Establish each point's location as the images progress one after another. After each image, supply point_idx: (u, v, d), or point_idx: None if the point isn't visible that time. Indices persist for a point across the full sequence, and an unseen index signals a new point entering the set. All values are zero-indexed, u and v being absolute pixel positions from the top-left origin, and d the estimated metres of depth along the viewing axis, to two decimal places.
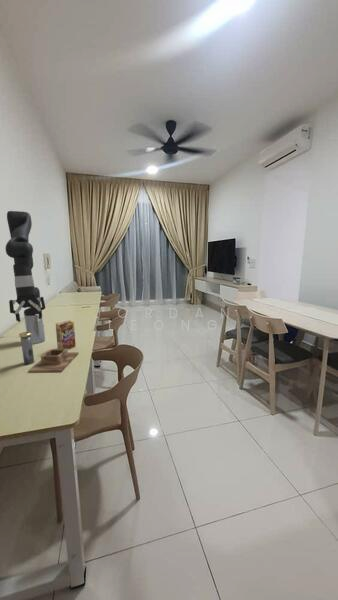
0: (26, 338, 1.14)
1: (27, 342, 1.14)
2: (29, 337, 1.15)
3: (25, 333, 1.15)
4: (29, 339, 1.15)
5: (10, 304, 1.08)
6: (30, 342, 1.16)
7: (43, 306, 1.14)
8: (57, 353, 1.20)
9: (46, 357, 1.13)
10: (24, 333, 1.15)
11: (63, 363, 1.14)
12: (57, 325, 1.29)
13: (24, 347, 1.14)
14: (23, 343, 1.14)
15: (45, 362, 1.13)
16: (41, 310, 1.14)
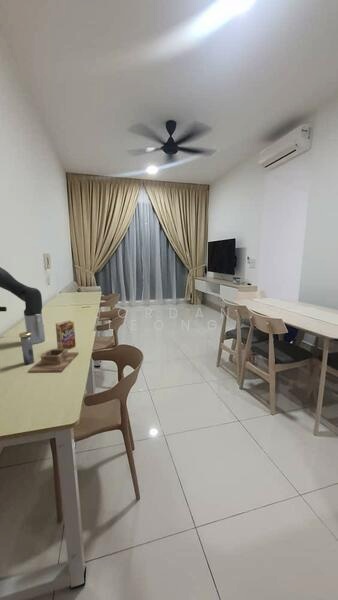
0: (26, 338, 1.14)
1: (27, 342, 1.14)
2: (29, 337, 1.15)
3: (25, 333, 1.15)
4: (29, 339, 1.15)
5: None
6: (30, 342, 1.16)
7: None
8: (57, 353, 1.20)
9: (46, 357, 1.13)
10: (24, 333, 1.15)
11: (63, 363, 1.14)
12: (57, 325, 1.29)
13: (24, 347, 1.14)
14: (23, 343, 1.14)
15: (45, 362, 1.13)
16: None
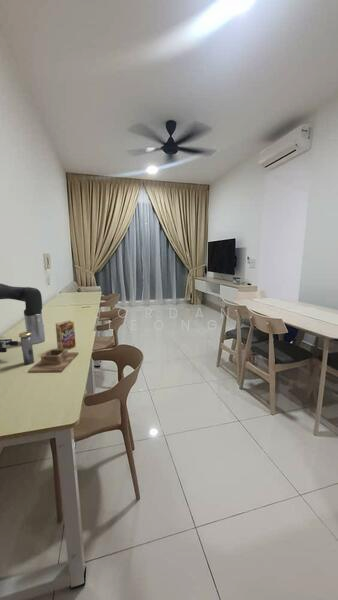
0: (26, 338, 1.14)
1: (27, 342, 1.14)
2: (29, 337, 1.15)
3: (25, 333, 1.15)
4: (29, 339, 1.15)
5: None
6: (30, 342, 1.16)
7: None
8: (57, 353, 1.20)
9: (46, 357, 1.13)
10: (24, 333, 1.15)
11: (63, 363, 1.14)
12: (57, 325, 1.29)
13: (24, 347, 1.14)
14: (23, 343, 1.14)
15: (45, 362, 1.13)
16: None
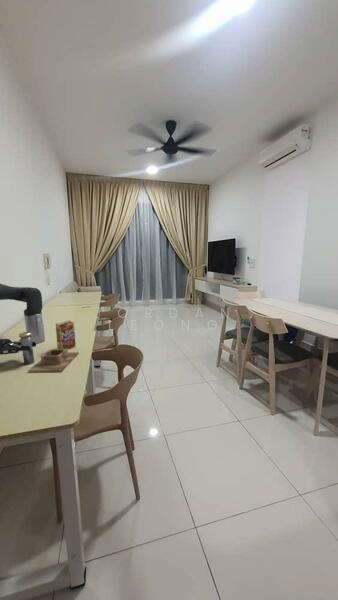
0: (26, 338, 1.14)
1: (27, 342, 1.14)
2: (29, 337, 1.15)
3: (25, 333, 1.15)
4: (29, 339, 1.15)
5: None
6: (30, 342, 1.16)
7: None
8: (57, 353, 1.20)
9: (46, 357, 1.13)
10: (24, 333, 1.15)
11: (63, 363, 1.14)
12: (57, 325, 1.29)
13: None
14: (23, 343, 1.14)
15: (45, 362, 1.13)
16: (20, 350, 1.13)
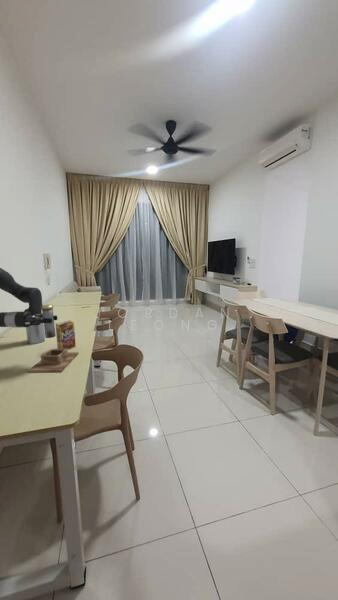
0: (48, 310, 1.11)
1: (49, 314, 1.11)
2: (51, 309, 1.12)
3: (47, 305, 1.12)
4: (51, 311, 1.12)
5: None
6: (52, 315, 1.13)
7: None
8: (57, 353, 1.20)
9: (46, 357, 1.13)
10: (46, 305, 1.12)
11: (63, 363, 1.14)
12: (57, 325, 1.29)
13: None
14: (45, 315, 1.11)
15: (45, 362, 1.13)
16: (42, 322, 1.10)
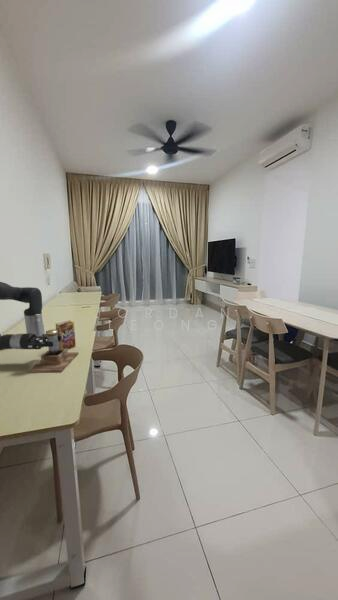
0: (53, 336, 1.13)
1: (54, 340, 1.14)
2: (55, 335, 1.15)
3: (51, 331, 1.15)
4: (55, 337, 1.15)
5: None
6: (56, 340, 1.15)
7: None
8: None
9: (46, 357, 1.13)
10: (50, 331, 1.15)
11: (63, 363, 1.14)
12: (57, 325, 1.29)
13: None
14: (50, 341, 1.13)
15: (45, 362, 1.13)
16: (43, 346, 1.11)
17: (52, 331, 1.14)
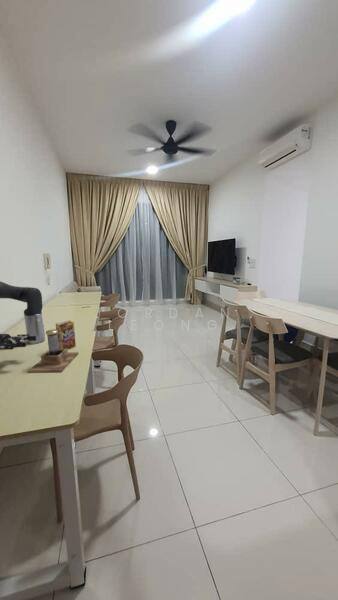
0: (53, 336, 1.14)
1: (54, 340, 1.14)
2: (56, 335, 1.15)
3: (52, 331, 1.15)
4: (56, 337, 1.15)
5: None
6: (56, 340, 1.15)
7: None
8: None
9: (46, 357, 1.13)
10: (51, 331, 1.15)
11: (63, 363, 1.14)
12: (57, 325, 1.29)
13: (51, 344, 1.14)
14: (50, 341, 1.14)
15: (45, 362, 1.13)
16: (15, 347, 1.11)
17: (52, 331, 1.14)
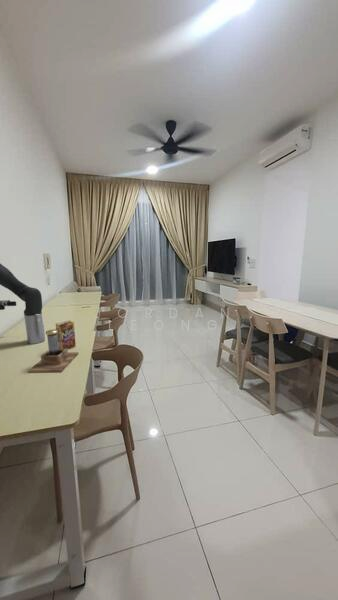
0: (53, 336, 1.14)
1: (54, 340, 1.14)
2: (56, 335, 1.15)
3: (52, 331, 1.15)
4: (56, 337, 1.15)
5: (2, 305, 1.24)
6: (56, 340, 1.15)
7: None
8: None
9: (46, 357, 1.13)
10: (51, 331, 1.15)
11: (63, 363, 1.14)
12: (57, 325, 1.29)
13: (51, 344, 1.14)
14: (50, 341, 1.14)
15: (45, 362, 1.13)
16: None
17: (52, 331, 1.14)
